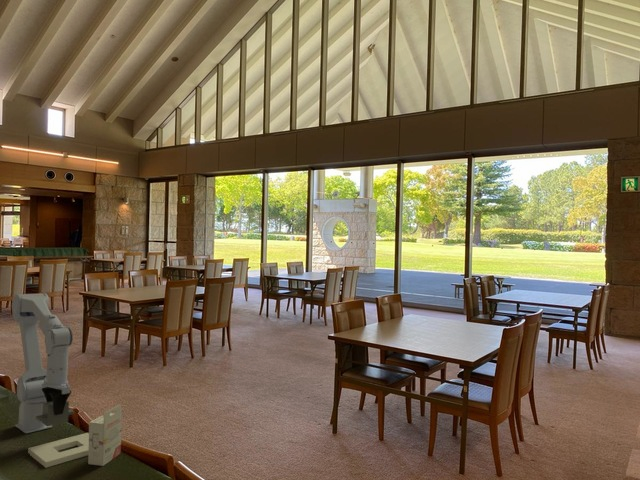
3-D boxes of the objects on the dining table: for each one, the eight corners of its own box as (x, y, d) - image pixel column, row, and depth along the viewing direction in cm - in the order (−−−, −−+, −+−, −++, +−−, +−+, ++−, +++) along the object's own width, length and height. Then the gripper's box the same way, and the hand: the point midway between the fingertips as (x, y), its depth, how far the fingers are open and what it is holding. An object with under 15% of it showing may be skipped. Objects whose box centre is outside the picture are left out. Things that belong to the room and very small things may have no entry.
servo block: (34, 424, 149) (35, 402, 149) (69, 416, 156) (70, 395, 156) (39, 428, 146) (40, 405, 146) (74, 419, 154) (75, 398, 154)
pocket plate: (27, 453, 142) (28, 448, 142) (87, 437, 155) (87, 432, 155) (45, 467, 134) (45, 462, 134) (107, 449, 147) (107, 444, 147)
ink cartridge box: (106, 452, 145) (108, 401, 145) (121, 454, 144) (123, 403, 144) (86, 464, 137) (88, 411, 137) (102, 466, 136) (104, 412, 136)
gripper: (34, 365, 153) (32, 409, 153) (53, 374, 144) (51, 421, 143) (58, 361, 158) (56, 404, 158) (77, 370, 149) (76, 415, 149)
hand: (55, 412), depth 151 cm, fingers closed on servo block, 4 cm apart
